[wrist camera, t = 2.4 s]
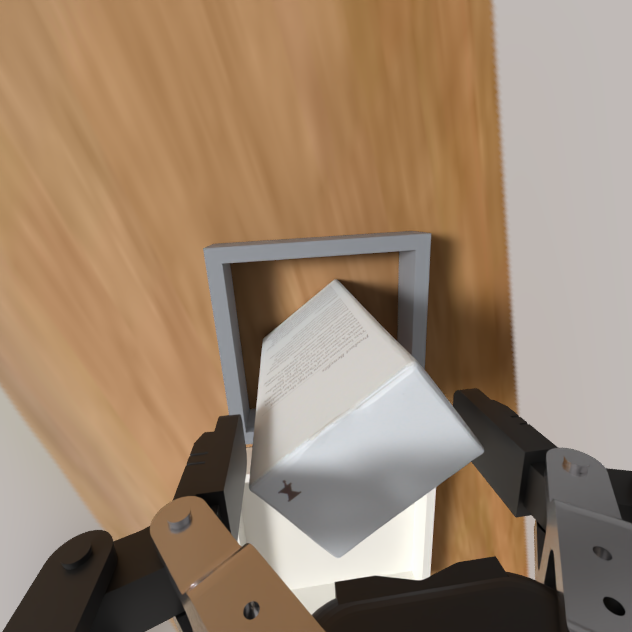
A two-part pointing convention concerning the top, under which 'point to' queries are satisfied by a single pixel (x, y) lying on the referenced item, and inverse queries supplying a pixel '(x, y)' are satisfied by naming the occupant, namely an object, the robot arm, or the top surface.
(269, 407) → the skincare box
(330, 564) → the tray
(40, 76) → the top surface
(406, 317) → the frame
